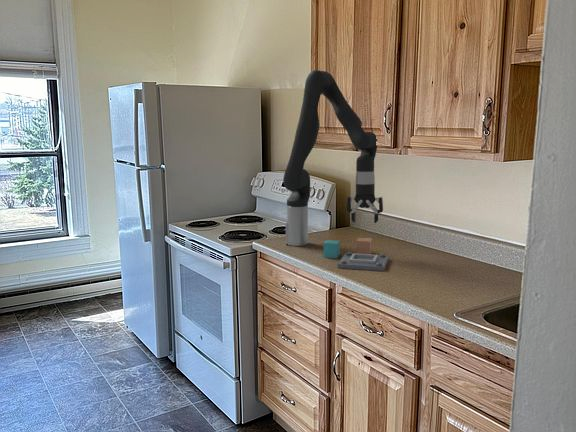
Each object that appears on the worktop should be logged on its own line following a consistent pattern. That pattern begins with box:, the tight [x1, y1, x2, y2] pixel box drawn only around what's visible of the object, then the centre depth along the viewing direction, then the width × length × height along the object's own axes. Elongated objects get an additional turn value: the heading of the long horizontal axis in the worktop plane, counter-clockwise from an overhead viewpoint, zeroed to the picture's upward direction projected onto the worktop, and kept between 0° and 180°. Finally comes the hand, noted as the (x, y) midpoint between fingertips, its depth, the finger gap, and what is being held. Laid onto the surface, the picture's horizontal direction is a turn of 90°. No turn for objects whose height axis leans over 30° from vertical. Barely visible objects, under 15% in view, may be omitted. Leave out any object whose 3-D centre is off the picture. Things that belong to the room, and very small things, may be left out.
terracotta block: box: [355, 237, 373, 254], centre depth 216 cm, size 6×6×6 cm
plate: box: [336, 251, 389, 272], centre depth 201 cm, size 17×17×2 cm
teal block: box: [322, 239, 341, 259], centre depth 212 cm, size 6×6×6 cm
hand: (364, 222), depth 214 cm, fingers open, 8 cm apart
